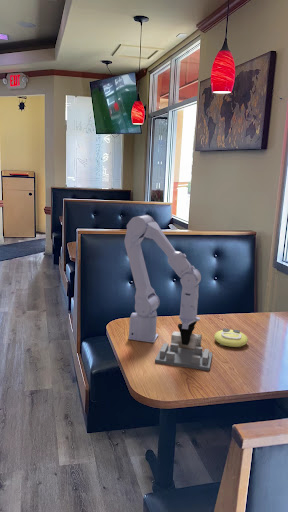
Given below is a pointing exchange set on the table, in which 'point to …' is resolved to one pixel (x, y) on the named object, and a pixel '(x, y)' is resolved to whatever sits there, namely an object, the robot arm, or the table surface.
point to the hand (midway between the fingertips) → (186, 342)
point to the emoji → (231, 338)
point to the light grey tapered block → (194, 341)
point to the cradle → (184, 357)
